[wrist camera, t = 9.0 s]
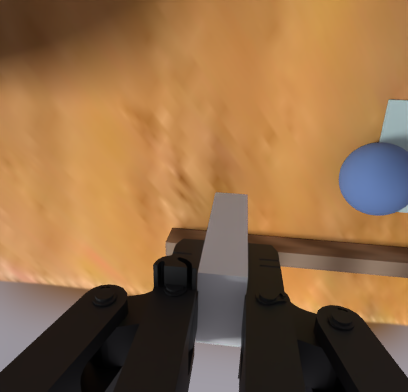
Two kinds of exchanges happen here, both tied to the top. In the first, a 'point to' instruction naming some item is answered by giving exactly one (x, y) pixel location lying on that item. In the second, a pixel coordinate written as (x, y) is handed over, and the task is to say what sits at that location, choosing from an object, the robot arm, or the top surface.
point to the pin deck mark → (396, 127)
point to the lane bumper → (321, 254)
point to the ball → (376, 178)
